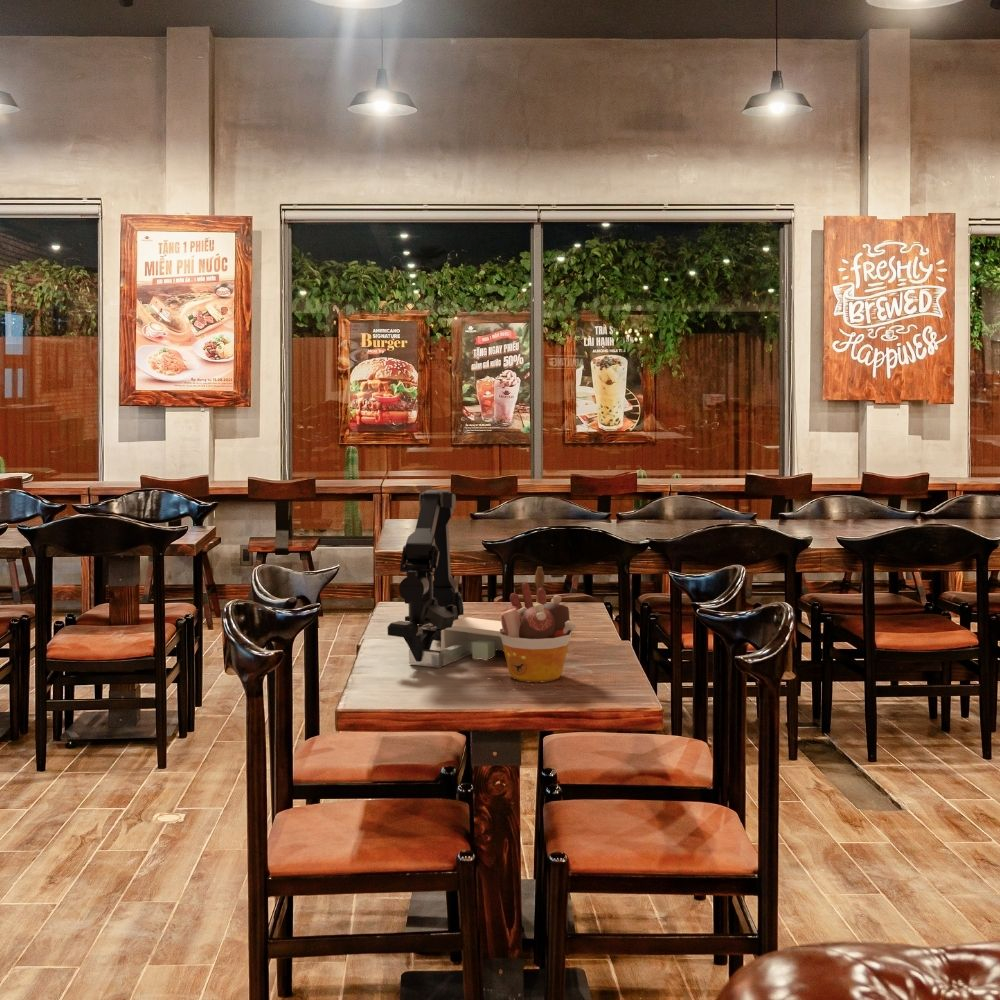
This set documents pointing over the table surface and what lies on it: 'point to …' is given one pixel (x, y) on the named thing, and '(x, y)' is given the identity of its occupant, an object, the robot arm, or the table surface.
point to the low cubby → (472, 632)
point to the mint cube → (483, 649)
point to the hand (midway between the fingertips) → (421, 660)
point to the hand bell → (539, 581)
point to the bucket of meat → (535, 636)
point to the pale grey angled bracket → (442, 655)
